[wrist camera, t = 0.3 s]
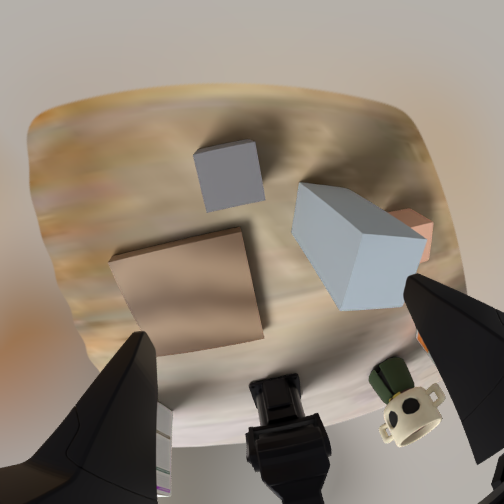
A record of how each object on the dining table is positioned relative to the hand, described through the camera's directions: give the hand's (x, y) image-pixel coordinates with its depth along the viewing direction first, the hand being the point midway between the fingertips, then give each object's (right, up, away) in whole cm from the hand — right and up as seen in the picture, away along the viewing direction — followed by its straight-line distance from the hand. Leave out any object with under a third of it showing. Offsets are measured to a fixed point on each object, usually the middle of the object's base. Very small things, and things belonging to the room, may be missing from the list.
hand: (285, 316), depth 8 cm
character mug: (+19, -16, +28) cm, 37 cm away
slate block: (+5, +6, +15) cm, 17 cm away
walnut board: (-7, -2, +17) cm, 19 cm away
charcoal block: (-3, +9, +12) cm, 15 cm away
